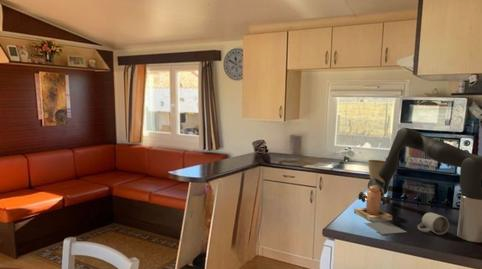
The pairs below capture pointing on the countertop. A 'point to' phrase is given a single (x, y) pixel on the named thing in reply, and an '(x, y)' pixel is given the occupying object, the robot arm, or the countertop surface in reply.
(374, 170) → the plant pot
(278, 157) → the countertop surface
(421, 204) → the countertop surface
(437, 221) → the ceramic mug
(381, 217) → the holder
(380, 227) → the mat
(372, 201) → the peach capped cylinder
